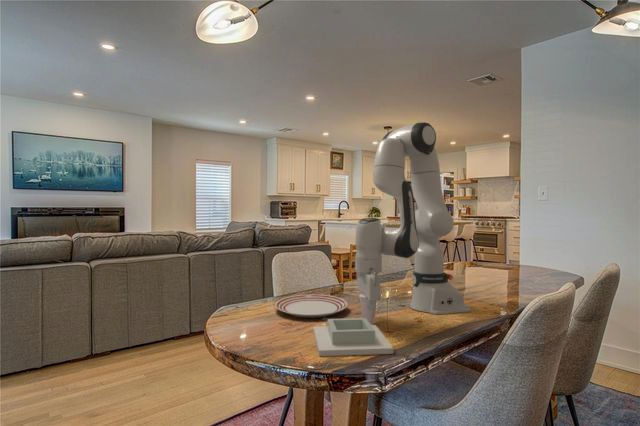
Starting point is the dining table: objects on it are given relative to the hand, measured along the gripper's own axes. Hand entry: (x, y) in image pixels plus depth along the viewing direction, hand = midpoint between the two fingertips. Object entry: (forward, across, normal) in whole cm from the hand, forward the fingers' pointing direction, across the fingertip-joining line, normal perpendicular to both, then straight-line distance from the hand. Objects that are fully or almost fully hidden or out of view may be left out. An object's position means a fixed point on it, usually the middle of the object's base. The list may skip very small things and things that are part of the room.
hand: (368, 307), depth 126 cm
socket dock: (+6, -16, +9) cm, 19 cm away
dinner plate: (+6, +18, +18) cm, 26 cm away
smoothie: (+6, 0, 0) cm, 6 cm away
